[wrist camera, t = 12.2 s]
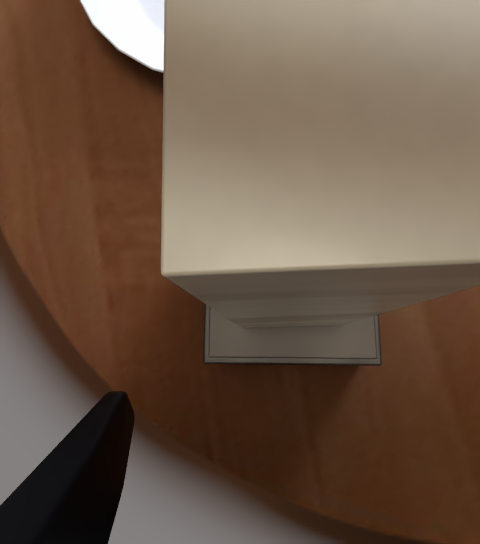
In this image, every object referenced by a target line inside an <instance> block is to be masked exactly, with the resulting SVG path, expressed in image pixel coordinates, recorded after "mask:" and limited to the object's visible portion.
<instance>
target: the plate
mask: <svg viewBox="0 0 480 544" xmlns="http://www.w3.org/2000/svg"><path fill="white" fill-rule="evenodd" d="M80 2H81V4H82V6H83V8H84V10H85V11H86V13H87V15H88V17H89V19H90V21H91V23H92V24H93V26H94V27H95V28H96V29H97V30H98V31H99V32H100V33H101V34H102V35H103V36H104V37H105V38H106V39H107V40H108V41H109V42H110V43H111V44H112V45H113V46H114V47H115V48H116V49H117V50H118V51H120V52H122V53H123V54H125V55H127V56H129V57H130V58H132V59H134V60H136V61H137V62H139V63H141V64H143V65H144V66H146V67H148V68H150V69H151V70H154V71H158V72H161V73H163V69H164V0H80Z"/></svg>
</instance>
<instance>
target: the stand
mask: <svg viewBox="0 0 480 544" xmlns="http://www.w3.org/2000/svg"><path fill="white" fill-rule="evenodd" d="M203 362H204V363H205V364H282V365H376V366H380V365H381V364H382V362H381V346H380V330H379V315H376V316H372V317H369V318H365V319H362V320H358V321H355V322H351V323H348V324H344V325H318V326H286V327H254V328H242V327H240V326H239V325H237V324H235V323H234V322H232V321H231V320H229V319H228V318H226V317H225V316H223V315H222V314H220V313H219V312H217V311H216V310H214V309H212V308H211V307H209V306H208V305H206V304H205V317H204V358H203Z"/></svg>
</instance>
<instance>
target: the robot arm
mask: <svg viewBox="0 0 480 544" xmlns="http://www.w3.org/2000/svg"><path fill="white" fill-rule="evenodd" d="M133 426H134V412H133V409H132V406H131V403H130V400H129V398H128V395H127V393H126V392H124V391H112V392H108V393H107V394H106V395H105V396H104V397H103V398H102V399H101V400H100V401H99V402H98V403H97V404H96V405H95V406H94V407H93V408H92V409H91V410H90V412H88V414H87V415H86V416H85V417H84V418H83V419H82V420H81V421H80V422H79V423H78V424H77V425H76V426H75V427H74V428H73V429H72V430H71V431H70V433H69V434H68V435H67V436H66V437H65V438H64V439H63V440H62V441H61V442H60V443H59V444H58V445H57V447H55V449H53V450H52V452H51V453H50V454H49V455H48V456H47V457H46V458H45V459H44V460H43V461H42V462H41V463H40V464H39V465H38V466H37V467H36V469H35V470H34V471H33V472H32V473H31V474H30V475H29V476H28V477H27V478H26V479H25V480H24V481H23V482H22V483H21V484H20V485H19V486H18V487H17V489H16V490H15V491H14V492H13V493H12V494H11V495H10V496H9V497H8V498H7V499H6V500H5V501H4V502H3V504H2V505H0V544H108V541H109V537H110V533H111V530H112V526H113V522H114V518H115V515H116V512H117V508H118V504H119V501H120V497H121V493H122V489H123V485H124V479H125V474H126V467H127V462H128V456H129V450H130V444H131V438H132V432H133Z"/></svg>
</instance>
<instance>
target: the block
mask: <svg viewBox="0 0 480 544" xmlns="http://www.w3.org/2000/svg"><path fill="white" fill-rule="evenodd" d="M161 274H162V276H163V277H165V278H166V279H168V280H170V281H171V282H173V283H174V284H176V285H177V286H179V287H180V288H182V289H183V290H185V291H186V292H188V293H189V294H191V295H193V296H194V297H196V298H197V299H199V300H200V301H202V302H203V303H205V304H206V305H208V306H209V307H211V308H212V309H214V310H216V311H217V312H219V313H220V314H222V315H223V316H225V317H226V318H228V319H229V320H231V321H232V322H234V323H235V324H237V325H239V326H240V327H242V328H254V327H286V326H318V325H344V324H348V323H351V322H355V321H358V320H362V319H365V318H369V317H372V316H376V315H379V314H382V313H386V312H389V311H393V310H396V309H400V308H403V307H407V306H410V305H414V304H417V303H421V302H424V301H427V300H431V299H434V298H438V297H441V296H445V295H448V294H452V293H455V292H459V291H462V290H466V289H469V288H472V287H476V286H479V285H480V0H164V69H163V144H162V220H161Z"/></svg>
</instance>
